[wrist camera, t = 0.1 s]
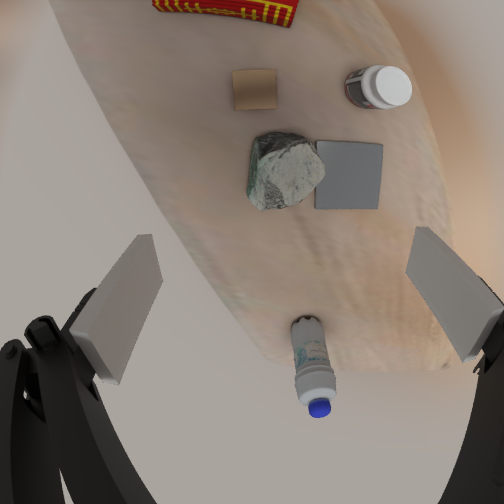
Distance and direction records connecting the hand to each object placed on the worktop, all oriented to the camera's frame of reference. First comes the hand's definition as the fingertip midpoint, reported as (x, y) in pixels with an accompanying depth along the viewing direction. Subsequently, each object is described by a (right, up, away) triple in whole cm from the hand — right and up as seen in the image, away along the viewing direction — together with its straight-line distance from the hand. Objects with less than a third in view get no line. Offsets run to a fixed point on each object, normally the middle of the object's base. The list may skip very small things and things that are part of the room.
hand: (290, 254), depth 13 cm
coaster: (+12, +11, +24) cm, 30 cm away
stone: (0, +11, +26) cm, 28 cm away
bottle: (+9, -14, +39) cm, 42 cm away
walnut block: (-1, +21, +19) cm, 29 cm away
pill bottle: (+14, +23, +18) cm, 32 cm away
